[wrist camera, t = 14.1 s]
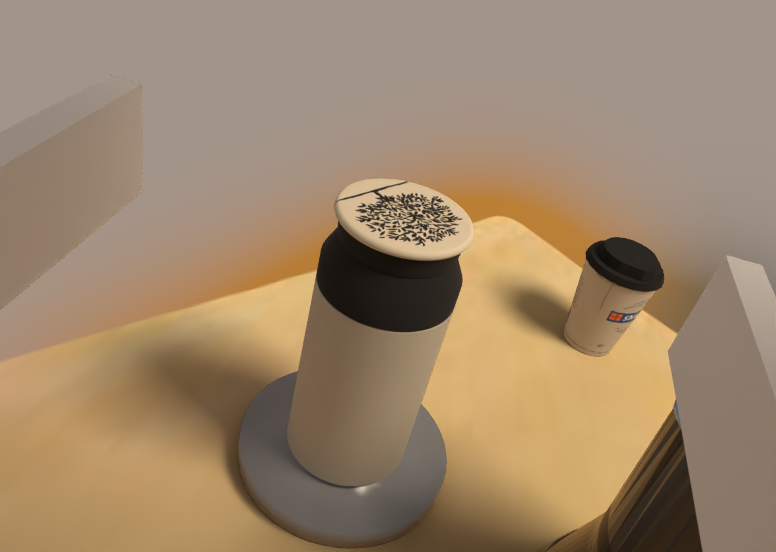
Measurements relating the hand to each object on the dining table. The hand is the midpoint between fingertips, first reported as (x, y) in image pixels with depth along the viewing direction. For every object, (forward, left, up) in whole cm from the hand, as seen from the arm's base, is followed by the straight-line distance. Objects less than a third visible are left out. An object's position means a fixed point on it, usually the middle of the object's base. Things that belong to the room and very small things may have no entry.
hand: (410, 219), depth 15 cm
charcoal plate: (+1, -18, -29) cm, 34 cm away
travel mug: (+1, -18, -28) cm, 33 cm away
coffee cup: (-17, -40, -29) cm, 52 cm away
